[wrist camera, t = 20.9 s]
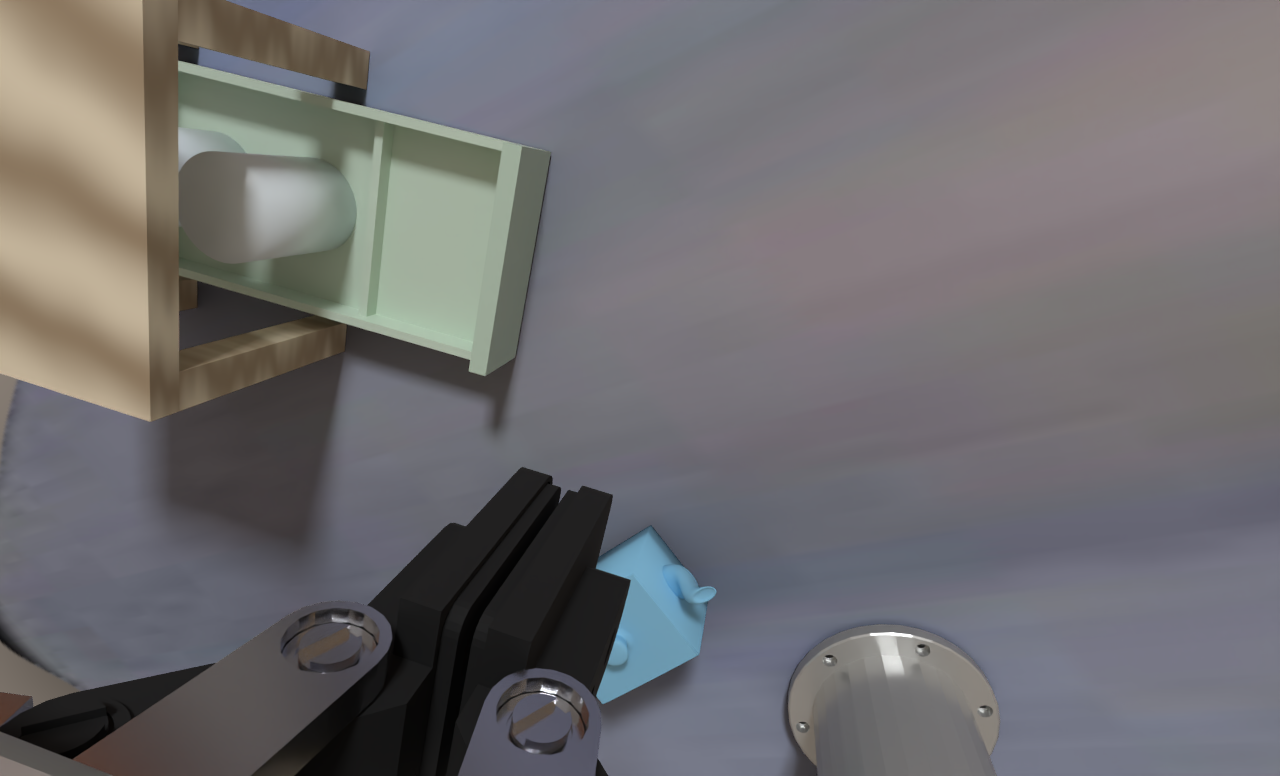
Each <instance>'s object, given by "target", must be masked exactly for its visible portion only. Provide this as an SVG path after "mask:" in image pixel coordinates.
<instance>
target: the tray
mask: <svg viewBox="0 0 1280 776" xmlns="http://www.w3.org/2000/svg"><path fill="white" fill-rule="evenodd" d="M178 127H182V128H190V129H199V130H208V131H215V132H220V133H223V134H225V135H227V136H229V137H231V138H232V139H234V140H235V141H236V142H237V143H238V144H239V145H240V146H241V147H242V148H243V149H244V151H245V152H246V153H251V154H267V155H282V156H298V157H312V158H318V159H321V160H324V161H326V162H328V163H330V164H331V165H333V166H334V167H335V168H337V169H338V170H339V171H340V172H341V173H342V175H343V176H344V177H345V178H346V180H347V181H348V183H349V185H350V187H351V189H352V191H353V194H354V198H355V202H356V212H357V214H356V222H355V226H354V229H353V231H352V233H351V235H350V237H349V238H348V239H347V241H346V242H345V243H343V244H342V245H341V246H339V247H338V248H336V249H333V250H329V251H322V252H315V253H308V254H301V255H294V256H287V257H280V258H273V259H266V260H259V261H252V262H245V263H237V264H229V263H223V262H219V261H217V260H214V259H212V258H210V257H209V256H207V255H206V254H204V253H203V252H202V251H200V250H199V249H198V248H197V247H196V246H195V245H194V244H193V243H192V241H191V240H190V239H189V237H188V236H187V235H186V233H185V231H184V229H183V228H182V226H179V276H183V277H186V278H190V279H193V280H197V281H200V282H204V283H207V284H210V285H214V286H217V287H221V288H224V289H228V290H231V291H235V292H238V293H241V294H245V295H248V296H252V297H255V298H259V299H262V300H266V301H269V302H272V303H276V304H279V305H283V306H286V307H290V308H293V309H297V310H300V311H303V312H307V313H310V314H314V315H317V316H321V317H324V318H328V319H331V320H335V321H338V322H341V323H345V324H348V325H352V326H355V327H359V328H362V329H366V330H369V331H372V332H376V333H379V334H383V335H386V336H390V337H393V338H397V339H400V340H403V341H407V342H410V343H414V344H417V345H421V346H424V347H428V348H431V349H434V350H438V351H441V352H445V353H448V354H452V355H455V356H459V357H462V358H465V359H469V360H470V365H469V372H473V373H476V374H479V375H483V376H486V375H488V374H490V373H491V372H493V371H494V370H496V369H498V368H499V367H501V366H502V365H504V364H506V363H507V362H509V361H510V360H512V359H514V358H515V356H516V350H517V345H518V339H519V333H520V327H521V322H522V316H523V310H524V304H525V299H526V293H527V287H528V281H529V276H530V270H531V264H532V258H533V253H534V247H535V241H536V235H537V230H538V224H539V218H540V212H541V207H542V201H543V195H544V189H545V184H546V178H547V172H548V166H549V161H550V155H551V152H549V151H545V150H541V149H537V148H533V147H529V146H525V145H520V144H516V143H512V142H508V141H504V140H500V139H496V138H492V137H488V136H484V135H480V134H476V133H472V132H468V131H464V130H460V129H455V128H451V127H447V126H443V125H439V124H435V123H431V122H427V121H423V120H419V119H415V118H411V117H407V116H403V115H399V114H394V113H390V112H386V111H382V110H378V109H374V108H370V107H366V106H362V105H358V104H354V103H350V102H346V101H342V100H338V99H334V98H329V97H325V96H321V95H317V94H313V93H309V92H305V91H301V90H297V89H293V88H289V87H285V86H281V85H277V84H273V83H269V82H264V81H260V80H256V79H252V78H248V77H244V76H240V75H236V74H232V73H228V72H224V71H220V70H216V69H212V68H208V67H203V66H199V65H195V64H191V63H187V62H183V61H179V60H178Z"/></svg>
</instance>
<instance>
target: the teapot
mask: <svg viewBox="0 0 1280 776" xmlns="http://www.w3.org/2000/svg"><path fill="white" fill-rule="evenodd" d="M596 569H599V570H602V571H605V572H608V573H611V574H614V575H617V576H620V577H624V578H627V579H630V580H631V582H630V587H629V591H628V595H627V599H626V603H625V606H624V610H623V614H622V617H621V621H620V625H619V628H618V632H617V635H616V638H615V642H614V645H613V648H612V651H611V654H610V658H609V661H608V664H607V667H606V669H605V672H604V675H603V678H602V681H601V684H600V686H599V689H598V692H597V695H596V697H597V698H598V699H599V700H600V701H601V703H602V704H605V703H607V702H609V701H611V700H613V699H615V698H617V697H619V696H621V695H623V694H625V693H627V692H629V691H631V690H633V689H635V688H637V687H639V686H641V685H643V684H644V683H646V682H648V681H650V680H652V679H654V678H656V677H658V676H660V675H662V674H664V673H666V672H668V671H669V670H671V669H673V668H675V667H677V666H679V665H681V664H683V663H685V662H687V661H688V660H690V659H692V658H694V657H696V656H697V655H699V653H700V647H701V641H702V635H703V629H704V623H705V616H706V610H707V604H708V601H709V600H711V599H712V598H713V597H714V596H715V594H716V589H715V588H713V587H699V585H698V584H697V581H696V579H695V578H694V576H693V575H692V574H691V573H690V571H689V570H688V569H686V568H685V567H684V566H683V565H682V564H681V562H680V561H679V560H678V559H677V557H676V556H675V555H674V554H673V552H672V551H671V550H670V549H669V547H668V546H667V545H666V543H665V542H664V541H663V540H662V538H661V537H660V536H659V534H658V533H657V532H656V531H655V529H654V528H653V527H652V526H651V525H650V526H649V527H647V528H645V529H644V530H642V531H640V532H639V533H637V534H635V535H634V536H632V537H631V538H629V539H627V540H626V541H624V542H622V543H621V544H619V545H618V546H616V547H614V548H613V549H611V550H609V551H608V552H606V553H605V554H603V555H601V556H600V557H598V561H597V565H596Z"/></svg>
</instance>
